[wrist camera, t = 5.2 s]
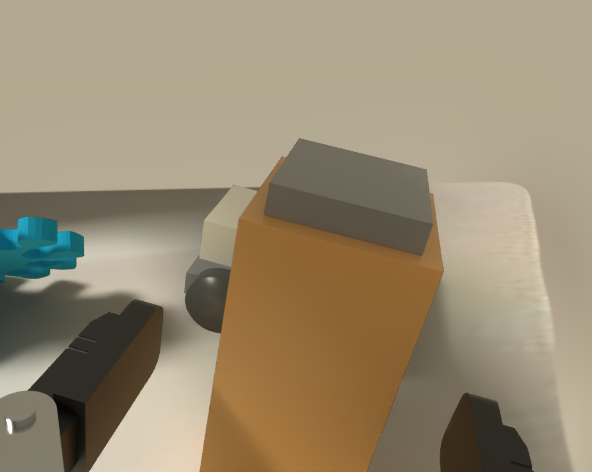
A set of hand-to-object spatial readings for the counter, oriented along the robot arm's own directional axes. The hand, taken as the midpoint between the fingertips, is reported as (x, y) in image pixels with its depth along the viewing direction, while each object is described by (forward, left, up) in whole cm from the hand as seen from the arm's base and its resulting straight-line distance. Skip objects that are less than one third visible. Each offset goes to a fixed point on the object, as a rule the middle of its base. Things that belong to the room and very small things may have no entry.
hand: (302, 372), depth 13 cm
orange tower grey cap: (+1, +2, -7) cm, 7 cm away
